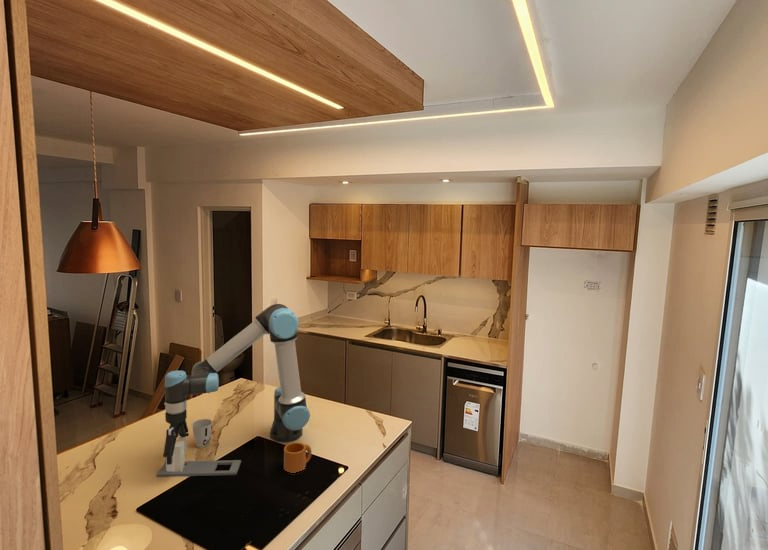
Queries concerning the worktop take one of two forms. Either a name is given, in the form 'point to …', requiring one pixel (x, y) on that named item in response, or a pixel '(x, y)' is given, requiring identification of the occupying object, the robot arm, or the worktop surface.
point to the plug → (179, 457)
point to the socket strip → (202, 468)
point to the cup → (202, 432)
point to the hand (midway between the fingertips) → (176, 461)
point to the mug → (296, 457)
